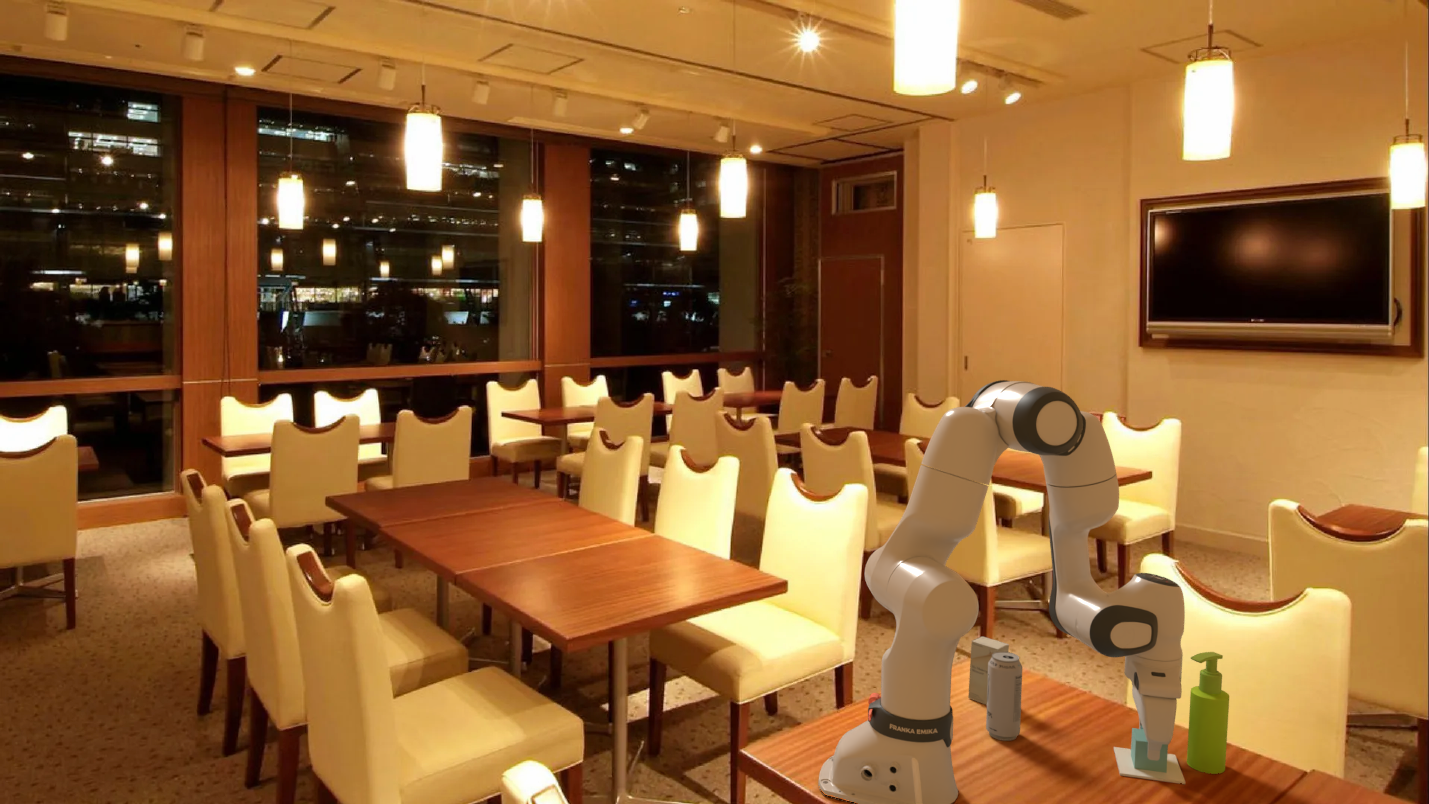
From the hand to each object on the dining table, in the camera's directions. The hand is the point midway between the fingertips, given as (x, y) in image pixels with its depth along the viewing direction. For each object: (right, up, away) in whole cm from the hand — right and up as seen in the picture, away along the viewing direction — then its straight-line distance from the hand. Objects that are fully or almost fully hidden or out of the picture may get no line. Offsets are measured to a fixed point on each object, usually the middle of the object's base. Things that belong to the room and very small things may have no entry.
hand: (1148, 745), depth 163 cm
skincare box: (-20, -1, +27) cm, 34 cm away
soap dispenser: (+10, -4, 0) cm, 10 cm away
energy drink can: (-21, -3, +12) cm, 25 cm away
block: (0, -3, 0) cm, 3 cm away
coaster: (0, -4, 0) cm, 4 cm away
